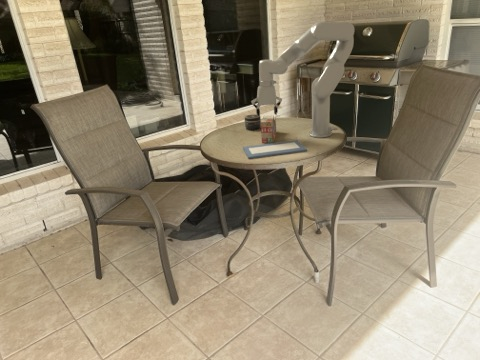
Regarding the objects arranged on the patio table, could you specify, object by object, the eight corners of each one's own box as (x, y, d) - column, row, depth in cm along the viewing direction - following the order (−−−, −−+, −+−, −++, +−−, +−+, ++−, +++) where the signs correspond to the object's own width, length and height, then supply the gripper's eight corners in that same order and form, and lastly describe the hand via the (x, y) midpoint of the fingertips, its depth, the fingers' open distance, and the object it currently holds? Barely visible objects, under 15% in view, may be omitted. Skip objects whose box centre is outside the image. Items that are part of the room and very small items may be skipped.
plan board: (297, 141, 200) (297, 139, 200) (306, 151, 186) (306, 149, 185) (242, 148, 197) (242, 146, 196) (248, 158, 182) (248, 156, 182)
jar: (255, 125, 237) (254, 113, 234) (264, 128, 229) (263, 116, 226) (242, 128, 233) (241, 116, 230) (250, 131, 225) (249, 119, 222)
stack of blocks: (266, 131, 222) (265, 111, 217) (276, 131, 221) (275, 111, 216) (261, 143, 203) (260, 121, 198) (273, 143, 202) (272, 121, 197)
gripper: (280, 81, 204) (280, 112, 211) (249, 83, 202) (250, 114, 209) (283, 83, 197) (283, 115, 204) (252, 86, 195) (253, 117, 202)
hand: (267, 114), depth 206 cm, fingers open, 9 cm apart
